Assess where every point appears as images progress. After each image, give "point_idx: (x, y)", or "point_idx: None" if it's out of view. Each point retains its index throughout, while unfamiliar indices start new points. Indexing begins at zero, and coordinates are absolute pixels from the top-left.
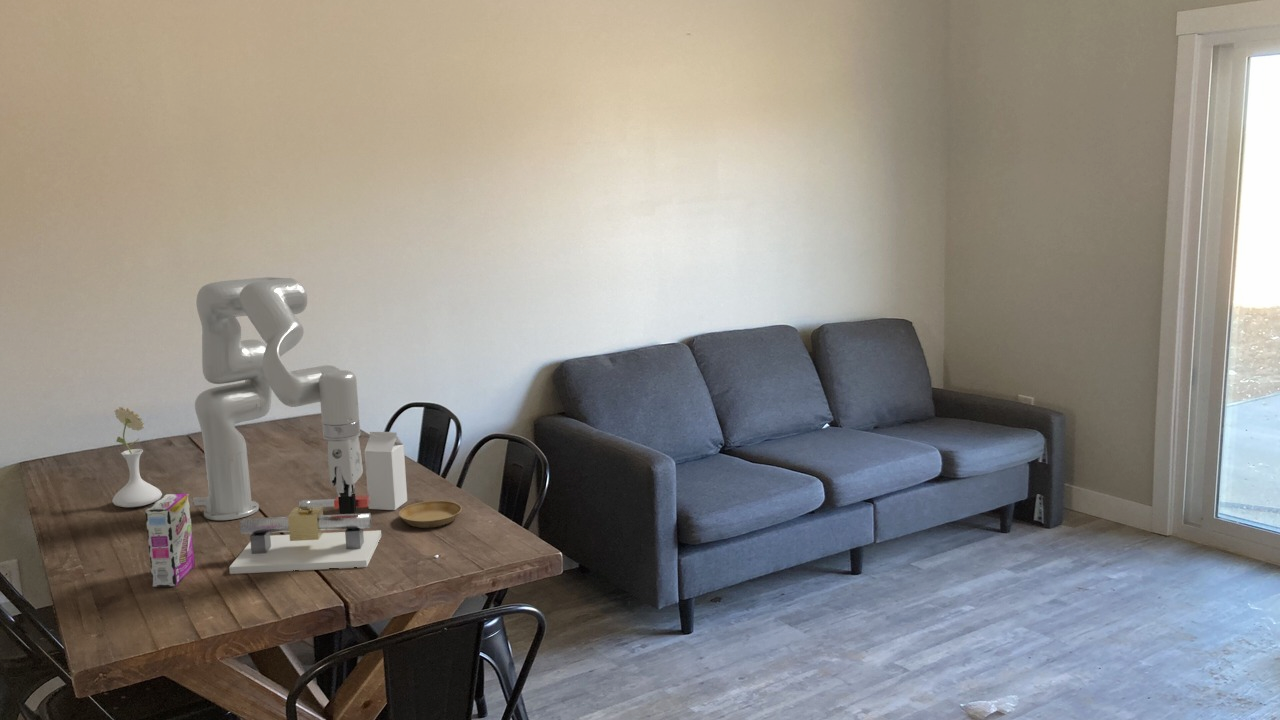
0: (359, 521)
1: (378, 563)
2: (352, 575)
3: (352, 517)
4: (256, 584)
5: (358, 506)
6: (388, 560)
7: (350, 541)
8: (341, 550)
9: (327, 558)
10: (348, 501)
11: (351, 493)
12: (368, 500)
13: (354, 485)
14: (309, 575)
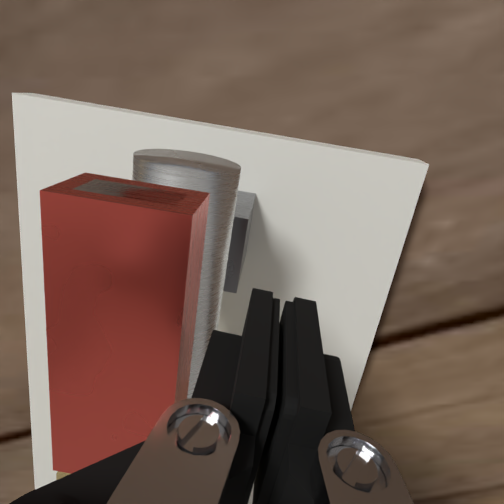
0: (229, 232)
1: (391, 103)
2: (488, 219)
3: (200, 284)
4: (414, 499)
5: (197, 275)
6: (370, 51)
7: (245, 248)
8: (254, 274)
9: (331, 325)
10: (349, 420)
11: (346, 462)
12: (129, 192)
13: (144, 473)
14: (408, 367)
